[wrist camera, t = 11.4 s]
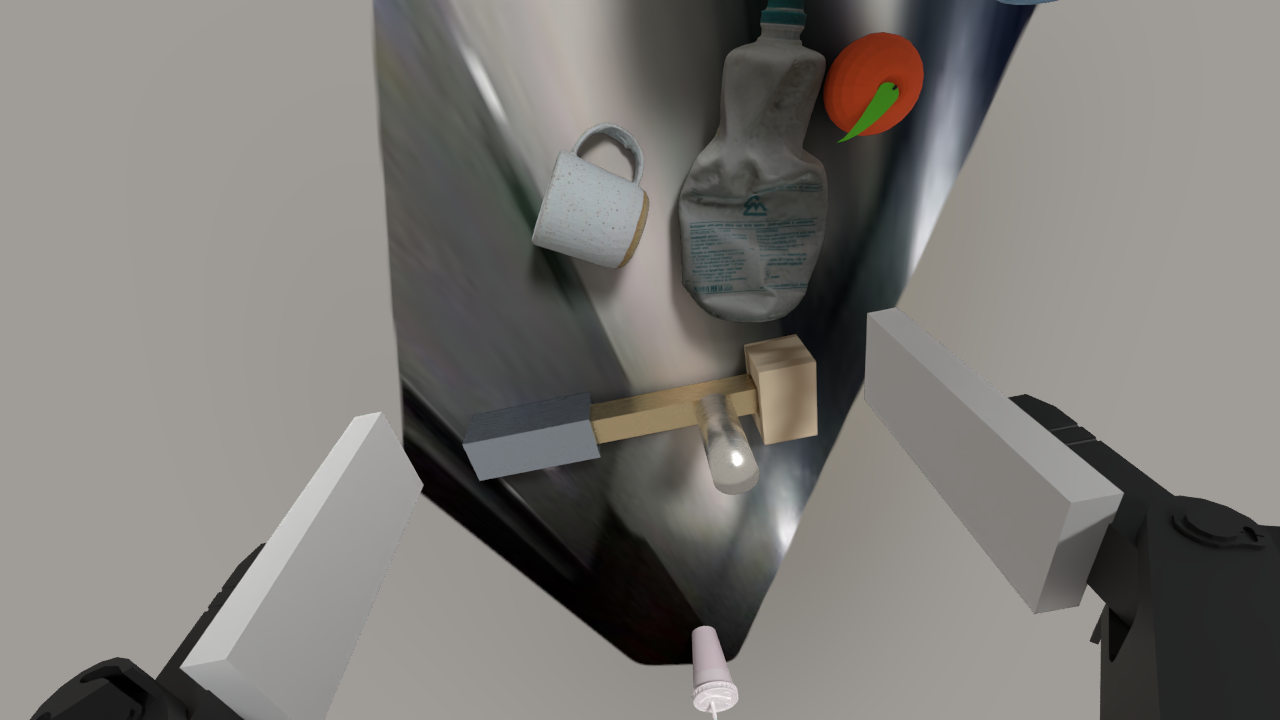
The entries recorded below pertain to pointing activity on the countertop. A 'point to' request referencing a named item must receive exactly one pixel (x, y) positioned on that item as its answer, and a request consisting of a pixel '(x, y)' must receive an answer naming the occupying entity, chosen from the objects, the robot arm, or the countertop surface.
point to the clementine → (873, 84)
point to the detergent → (758, 180)
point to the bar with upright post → (691, 406)
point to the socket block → (783, 388)
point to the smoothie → (711, 673)
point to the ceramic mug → (593, 206)
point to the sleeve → (531, 437)
